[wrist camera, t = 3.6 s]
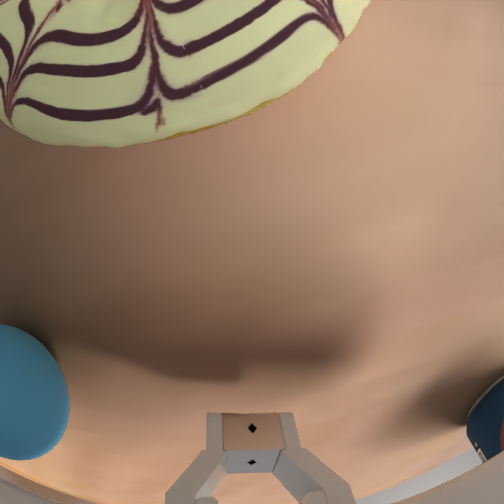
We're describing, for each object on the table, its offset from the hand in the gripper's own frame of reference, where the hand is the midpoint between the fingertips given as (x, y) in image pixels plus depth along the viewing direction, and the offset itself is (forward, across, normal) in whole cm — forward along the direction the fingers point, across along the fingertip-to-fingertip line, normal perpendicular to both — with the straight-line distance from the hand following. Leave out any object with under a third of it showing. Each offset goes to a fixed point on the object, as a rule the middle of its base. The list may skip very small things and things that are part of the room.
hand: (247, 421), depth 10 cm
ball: (-1, +10, 0) cm, 10 cm away
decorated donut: (+2, +4, -14) cm, 15 cm away
